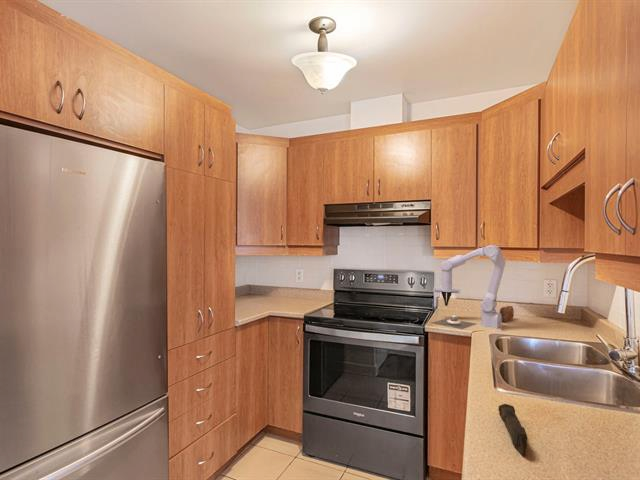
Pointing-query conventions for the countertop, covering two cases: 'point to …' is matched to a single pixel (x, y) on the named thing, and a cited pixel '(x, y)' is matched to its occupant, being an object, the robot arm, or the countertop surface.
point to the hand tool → (514, 428)
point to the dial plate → (459, 326)
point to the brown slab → (507, 313)
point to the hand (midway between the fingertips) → (446, 305)
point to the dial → (453, 320)
